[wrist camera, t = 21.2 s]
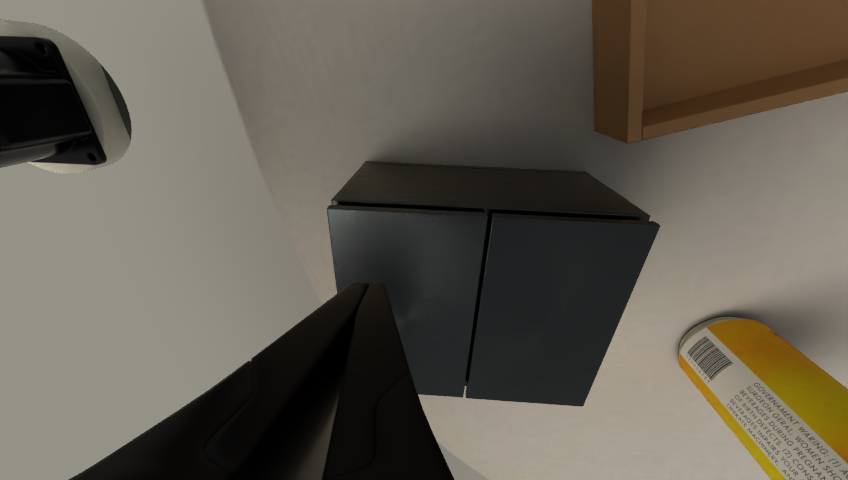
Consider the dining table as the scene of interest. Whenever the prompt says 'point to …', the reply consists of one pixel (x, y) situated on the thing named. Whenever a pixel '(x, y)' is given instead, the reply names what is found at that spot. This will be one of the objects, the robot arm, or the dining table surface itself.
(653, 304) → the dining table surface
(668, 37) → the laundry tray
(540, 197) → the black cupboard
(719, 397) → the yellow labelled cylinder
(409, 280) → the hatch
